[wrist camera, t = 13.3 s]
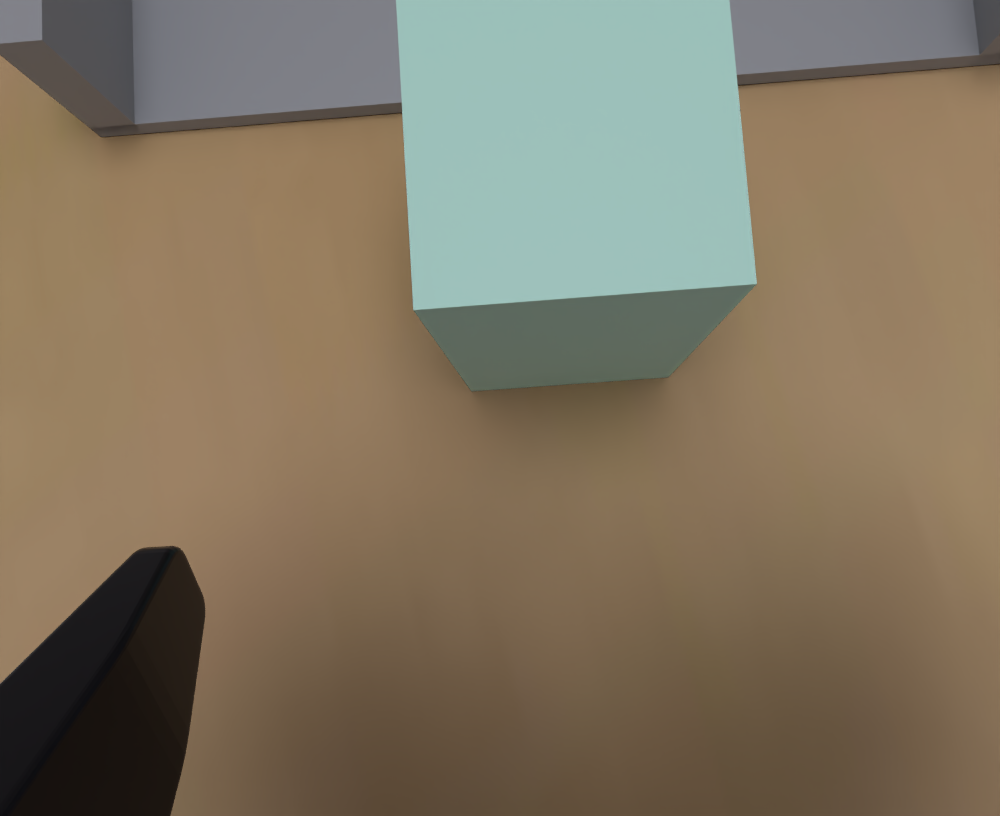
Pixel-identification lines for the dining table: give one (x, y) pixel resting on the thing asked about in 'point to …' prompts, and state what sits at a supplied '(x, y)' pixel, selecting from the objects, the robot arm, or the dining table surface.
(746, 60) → the open crate
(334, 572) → the dining table surface
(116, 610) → the robot arm
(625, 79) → the green block
